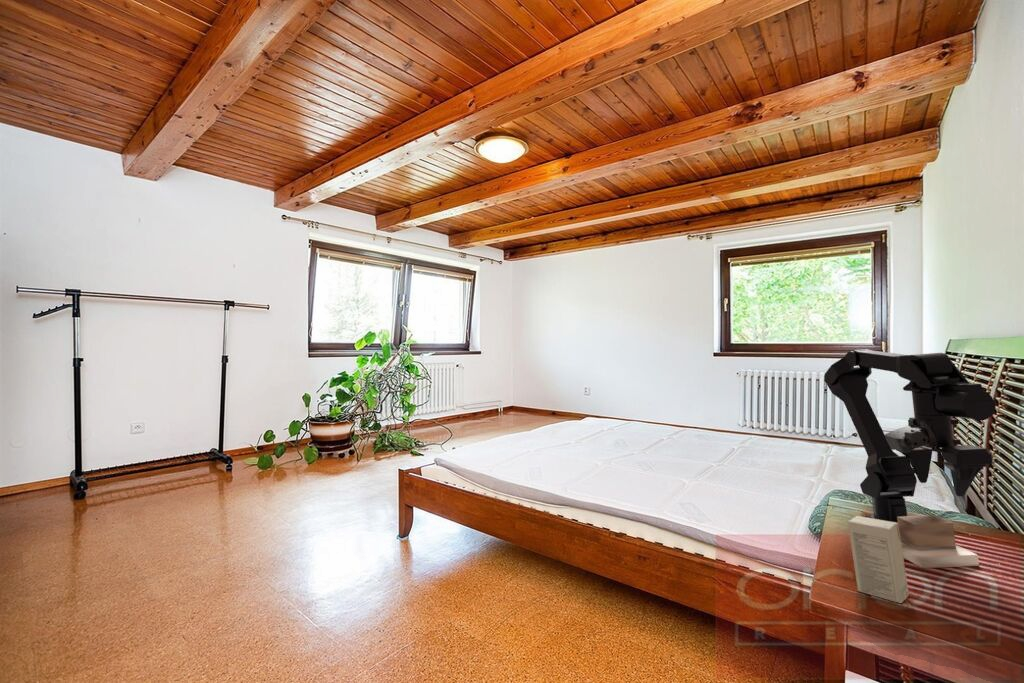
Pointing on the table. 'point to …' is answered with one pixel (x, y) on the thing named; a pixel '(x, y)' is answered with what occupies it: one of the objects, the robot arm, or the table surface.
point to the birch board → (940, 557)
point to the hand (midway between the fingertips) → (940, 489)
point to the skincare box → (878, 558)
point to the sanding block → (926, 532)
